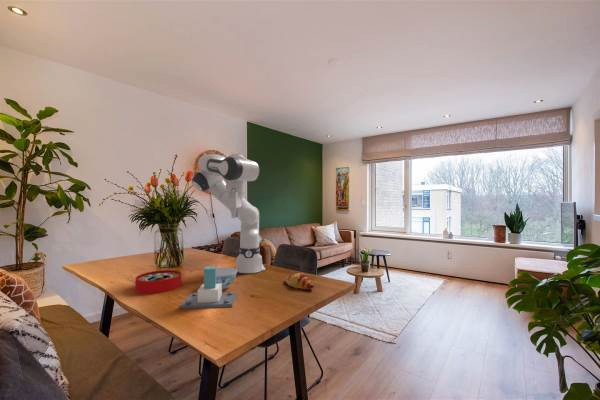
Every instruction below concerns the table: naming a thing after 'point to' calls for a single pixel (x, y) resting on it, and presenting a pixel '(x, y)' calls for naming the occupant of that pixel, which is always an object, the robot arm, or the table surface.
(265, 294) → the table surface
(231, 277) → the chinaware
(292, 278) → the croissant
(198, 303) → the stack base
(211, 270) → the teal brick
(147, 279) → the toy clock
